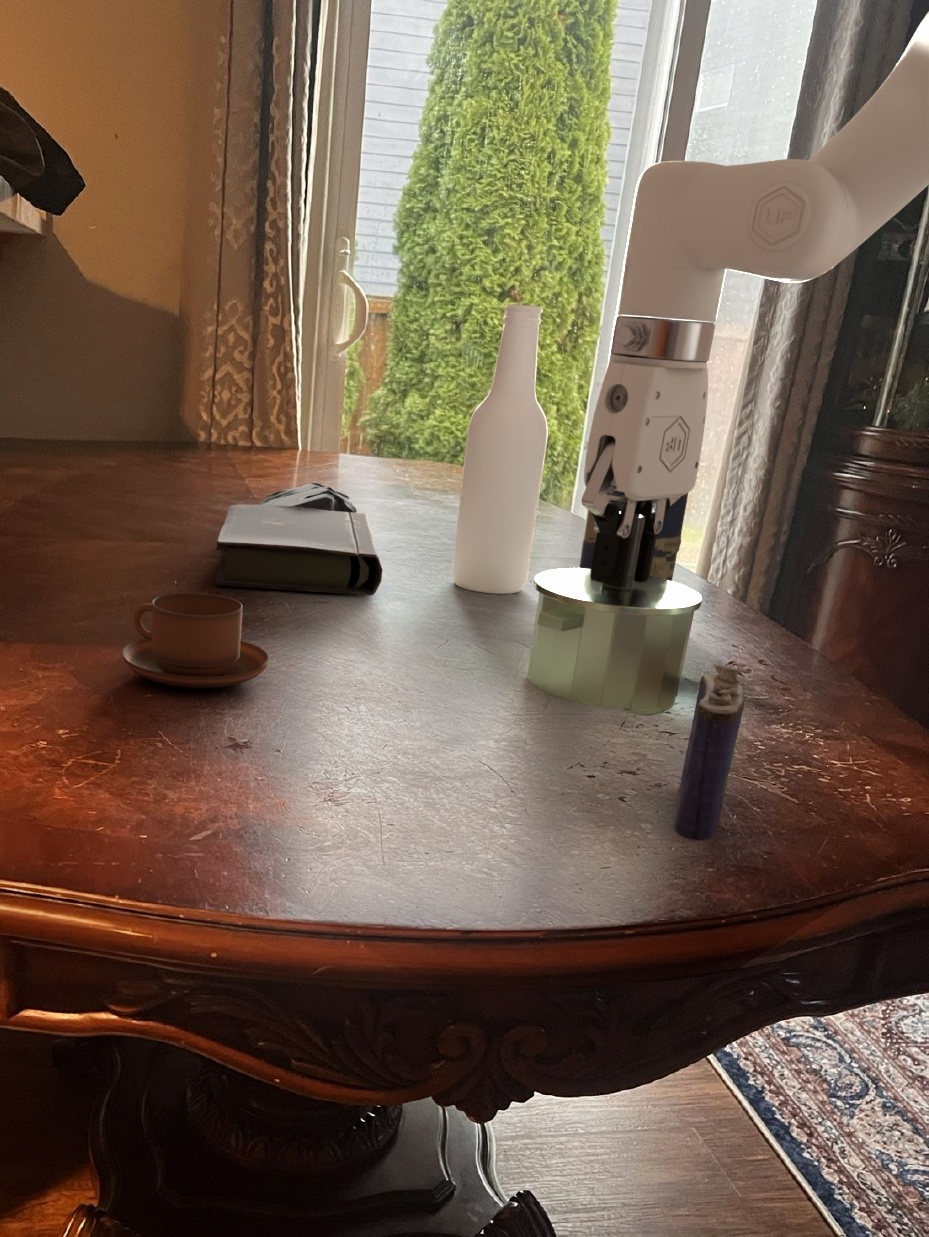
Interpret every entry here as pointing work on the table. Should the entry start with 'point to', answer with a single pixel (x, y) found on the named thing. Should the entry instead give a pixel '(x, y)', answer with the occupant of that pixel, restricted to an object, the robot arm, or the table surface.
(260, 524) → the diary
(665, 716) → the table surface
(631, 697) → the pot
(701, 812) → the flask
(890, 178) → the robot arm
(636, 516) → the lid
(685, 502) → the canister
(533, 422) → the alcohol
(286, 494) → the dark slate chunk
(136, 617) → the cup and saucer
